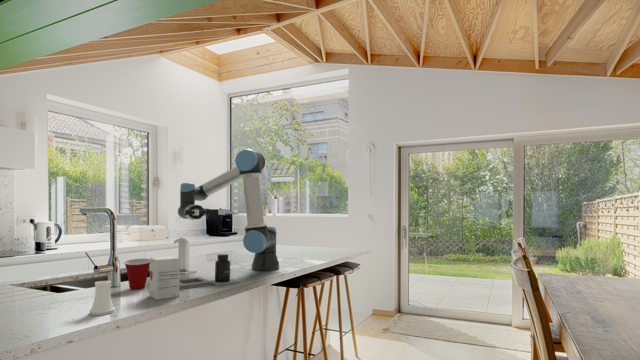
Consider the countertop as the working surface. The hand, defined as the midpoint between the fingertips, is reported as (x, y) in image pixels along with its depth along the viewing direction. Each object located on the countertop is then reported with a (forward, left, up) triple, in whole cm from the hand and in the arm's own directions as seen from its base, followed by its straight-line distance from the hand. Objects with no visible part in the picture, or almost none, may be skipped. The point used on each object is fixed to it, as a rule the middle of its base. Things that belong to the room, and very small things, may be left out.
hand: (211, 212), depth 198 cm
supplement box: (+30, +24, -32) cm, 50 cm away
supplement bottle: (0, +12, -31) cm, 34 cm away
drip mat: (0, +12, -32) cm, 34 cm away
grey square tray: (+13, +8, -32) cm, 35 cm away
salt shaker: (+54, +35, -32) cm, 72 cm away
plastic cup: (+34, +2, -32) cm, 47 cm away
